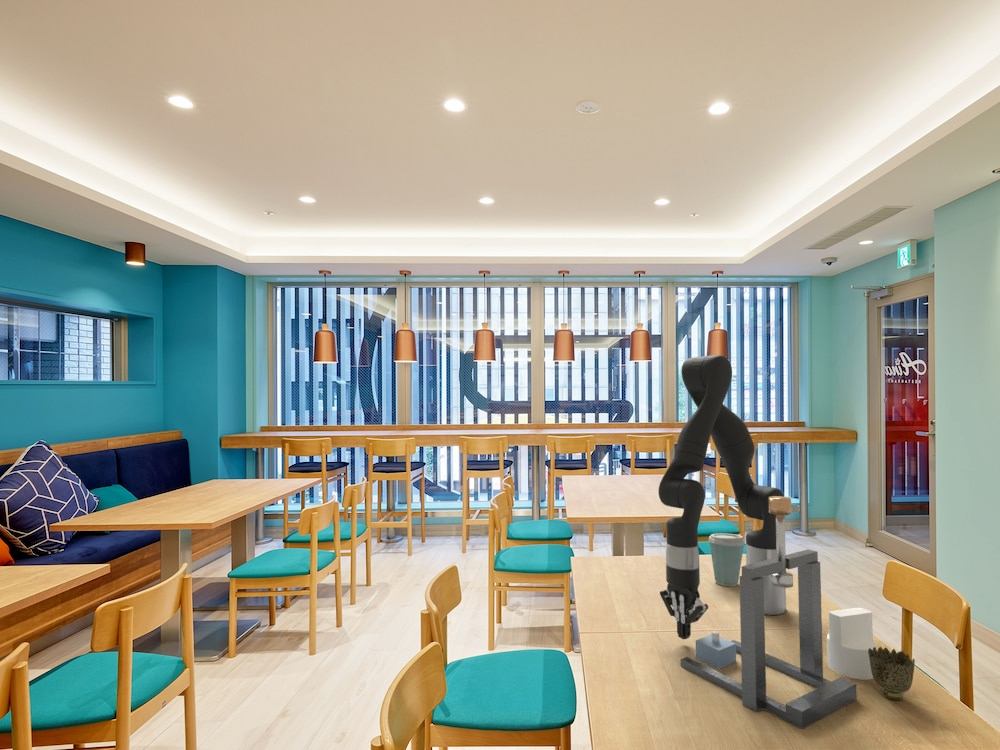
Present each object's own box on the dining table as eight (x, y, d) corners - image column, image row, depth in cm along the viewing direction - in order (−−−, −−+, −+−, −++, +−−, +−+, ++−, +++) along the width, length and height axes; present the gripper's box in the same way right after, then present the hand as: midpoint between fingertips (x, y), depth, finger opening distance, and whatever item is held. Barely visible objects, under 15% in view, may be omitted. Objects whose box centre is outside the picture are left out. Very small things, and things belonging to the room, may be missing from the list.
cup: (924, 709, 105) (922, 665, 105) (879, 705, 106) (878, 662, 106) (903, 688, 112) (902, 647, 112) (862, 685, 113) (861, 644, 114)
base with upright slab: (853, 682, 115) (851, 622, 115) (817, 662, 123) (816, 606, 124) (887, 676, 117) (886, 617, 117) (850, 656, 126) (848, 602, 126)
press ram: (778, 579, 114) (776, 495, 115) (797, 585, 111) (795, 498, 112) (766, 583, 112) (764, 497, 113) (785, 589, 109) (783, 500, 110)
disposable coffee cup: (701, 580, 177) (700, 532, 178) (726, 575, 182) (725, 528, 182) (727, 591, 167) (727, 540, 168) (753, 585, 172) (752, 536, 172)
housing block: (712, 651, 129) (712, 625, 129) (736, 662, 124) (735, 634, 124) (695, 658, 126) (695, 631, 126) (719, 669, 121) (718, 641, 121)
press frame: (739, 644, 132) (737, 532, 133) (862, 696, 109) (858, 561, 110) (674, 668, 121) (672, 546, 122) (795, 732, 98) (791, 581, 99)
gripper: (716, 568, 129) (718, 644, 129) (672, 554, 141) (673, 624, 140) (694, 573, 125) (695, 652, 125) (650, 558, 137) (651, 631, 136)
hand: (683, 637), depth 132 cm, fingers closed
